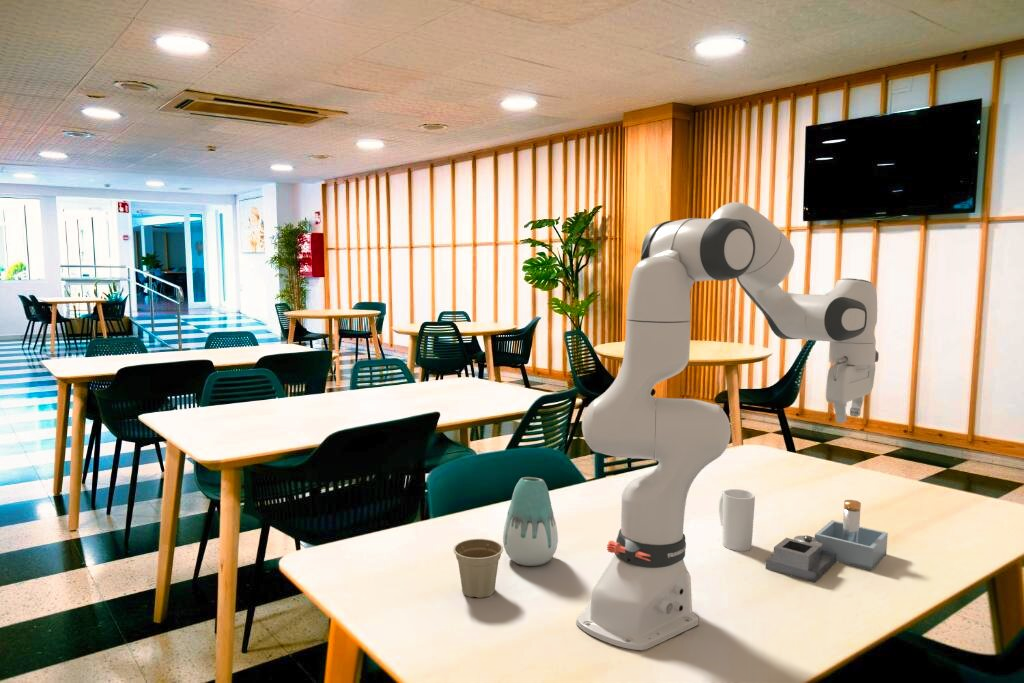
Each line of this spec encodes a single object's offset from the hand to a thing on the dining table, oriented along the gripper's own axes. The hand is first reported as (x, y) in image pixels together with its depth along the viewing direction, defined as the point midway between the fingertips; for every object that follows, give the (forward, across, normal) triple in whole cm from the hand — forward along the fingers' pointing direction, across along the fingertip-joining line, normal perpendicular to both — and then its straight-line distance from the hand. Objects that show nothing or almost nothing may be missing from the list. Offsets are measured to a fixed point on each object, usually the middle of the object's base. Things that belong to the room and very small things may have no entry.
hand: (848, 419), depth 153 cm
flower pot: (+31, -67, +45) cm, 86 cm away
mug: (+30, -10, +20) cm, 38 cm away
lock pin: (+29, +1, -2) cm, 29 cm away
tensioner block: (+30, -12, +4) cm, 33 cm away
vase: (+30, -49, +48) cm, 75 cm away
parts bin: (+30, +1, -2) cm, 30 cm away
